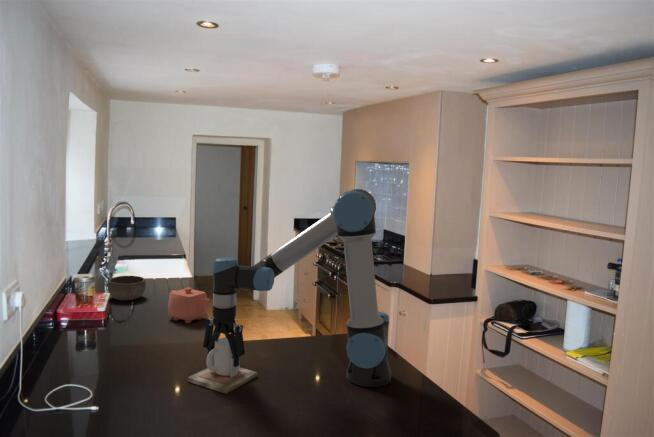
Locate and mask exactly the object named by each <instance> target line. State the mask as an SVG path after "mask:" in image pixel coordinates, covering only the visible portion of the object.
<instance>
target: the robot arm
mask: <svg viewBox="0 0 654 437" xmlns="http://www.w3.org/2000/svg"><path fill="white" fill-rule="evenodd" d="M376 209H377V204H376V200H375V198H374V196H373V195H372V194H371V193H370V192H369V191H366V190H364V189H362V188H361V189H360V188H357V189H351V190H348V191H345V192H343V193H342V194H340V195H339V196H338V197H337V199H336V201H335V203H334V205H333V206H332V207H331V208H330V212H329V213H327V214H326V215H325V216H323V217H322V218H319V220H317V221H316V222H314V223H312V225H310V226H308V227H307V228H306V229H304V230H302V231H300V233H299V234H297V235H295V236H294V237H293V238H292V239H290V240H288V241H287V242H285V243H284V244H282V246H280V247H279V248H277V249H276V250H274V251H273V252H272V253H270V254H269V255H267V256H266V257H264V258H263V259H261V260H259V261H258V262H256V263H255V264H253V265H252V266H251V265H241V264H240V265H239V264H238V260H237V259H236V258H235V257H231V256H230V257H229V256H226V257H225V256H223V257H218V258H216V259H215V260H213V271H212V305H213V306H212V317H211V318H210V317H209V318H207V319H205V333H204V338H203V343H202V344H203V345H202V347H203V349H205V348H206V350H207V355H208V354H209V352H210V351H211V350H212V349H214V348H215V341H216V342H217V341H218V339H219V338H221V337H220V336H221V334H223V335H224V337H226V338H227V339H228V342H229V345H230V349H231V352H232V355H233V356H232V357H231V370H230V377H233V376H235V375H237V373H238V366H239V357H240V358H241V357H242V356H244V355H245V354H246V352H245V342H244V334H243V329H244V326H243V325H242V324H237V323H236V317H237V306H236V304H237V290H238V289H239V290H249V291H257V292H263V291H264V292H269V291H271V290H272V289H273V286H274V283H275V279H276V278H277V277H278V276H279V275H281V274H282V273H284V272H285V271H287V270H288V269H290V268H291V267H292V266H294V265H295V264H297V263H298V262H300V261H301V260H303V259H304V258H306V257H307V256H309V255H310V254H312V253H313V252H315V251H316V250H318V249H319V248H320V247H322V246H323V245H325V244H327V243H328V242H329V241H331V240H332V239H334V238H335V237H338V238H339V239H340V240H342V242H343V249H344V250H343V251H344V261H345V270H346V271H345V272H346V282H347V290H348V301H349V312H350V317H349V318H348V320H347V321H346V324H345V325H346V333H347V334H346V335H347V342H346V345H345V347H346V348H345V350H346V355H347V358H348V359H349V363H348V366H347V368H346V375H345V376H346V379H347V381H348V382H350V383H352V384H354V385H356V386H360V387H365V388H379V387H384V386H386V385H389V383H391V381H392V371H391V368H390V365H389V360H388V346H389V345H388V344H389V342H388V341H389V328H390V316H389V315H388V314H387V313H386V312H383V311H379V309H378V296H377V286H376V277H375V276H376V274H375V265H374V254H373V243H372V242H373V241H372V239H373V237H374V236H375V235H376V233H377V231H376V219H375V215H376V211H377V210H376ZM210 362H211V365H212V366H214V354H213V355H212V357H211V361H210ZM239 367H240V366H239ZM209 370H210V369H209ZM210 371H212V370H210Z"/></svg>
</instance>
